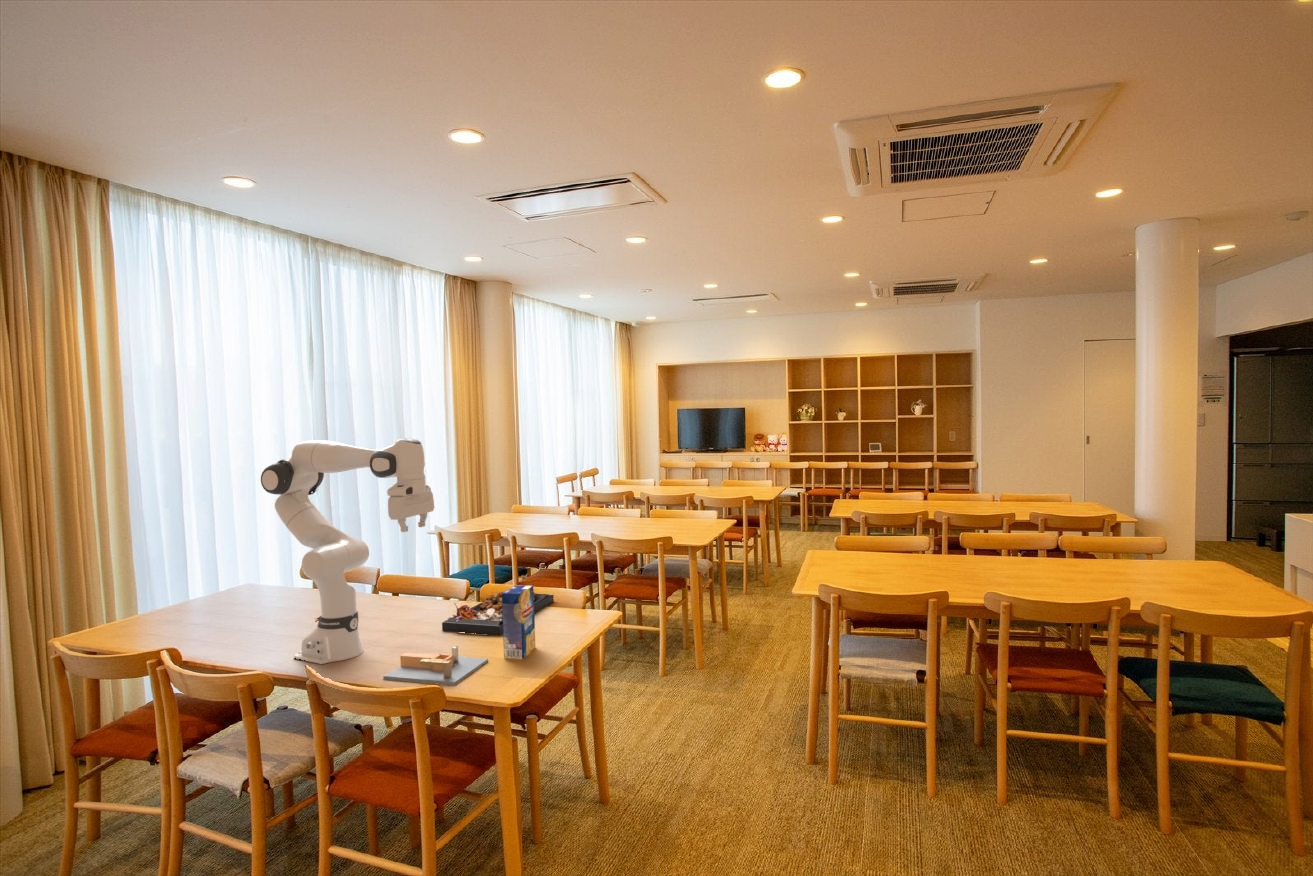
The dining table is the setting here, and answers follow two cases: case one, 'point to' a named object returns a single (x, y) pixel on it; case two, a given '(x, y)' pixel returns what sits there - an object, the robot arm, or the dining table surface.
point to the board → (437, 672)
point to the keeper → (443, 663)
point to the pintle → (455, 654)
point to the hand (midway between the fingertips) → (413, 529)
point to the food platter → (487, 615)
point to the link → (415, 658)
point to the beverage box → (518, 621)
